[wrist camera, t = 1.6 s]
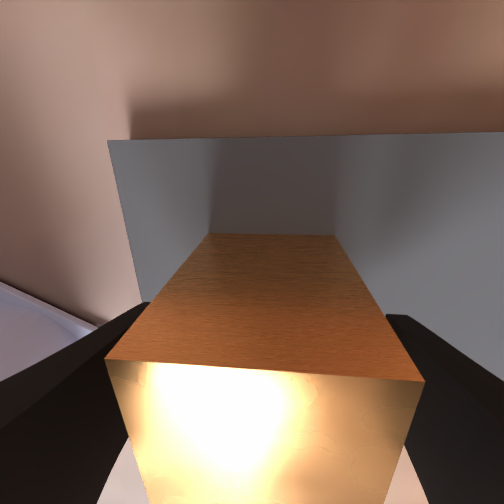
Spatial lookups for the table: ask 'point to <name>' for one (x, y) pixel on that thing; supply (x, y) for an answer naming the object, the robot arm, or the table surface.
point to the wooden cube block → (265, 378)
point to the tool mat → (338, 215)
